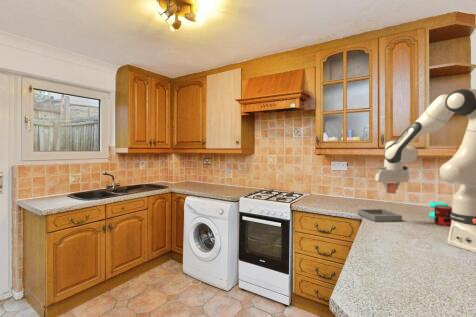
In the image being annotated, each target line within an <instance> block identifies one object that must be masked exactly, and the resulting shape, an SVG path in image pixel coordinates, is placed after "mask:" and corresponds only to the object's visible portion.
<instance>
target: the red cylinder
mask: <svg viewBox="0 0 476 317" xmlns="http://www.w3.org/2000/svg"><path fill="white" fill-rule="evenodd" d="M387 187H389V189H388V190H386V194H397V189H396V182H387Z"/></svg>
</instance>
